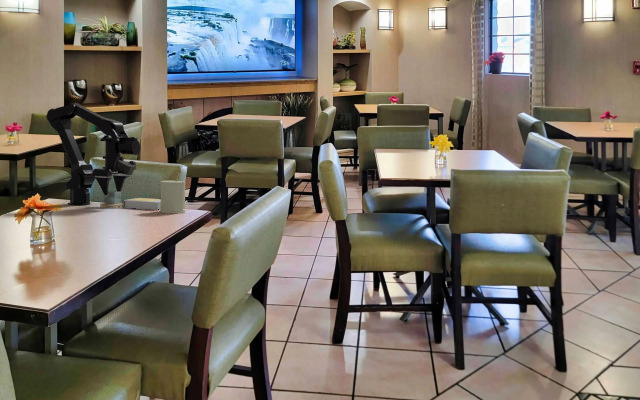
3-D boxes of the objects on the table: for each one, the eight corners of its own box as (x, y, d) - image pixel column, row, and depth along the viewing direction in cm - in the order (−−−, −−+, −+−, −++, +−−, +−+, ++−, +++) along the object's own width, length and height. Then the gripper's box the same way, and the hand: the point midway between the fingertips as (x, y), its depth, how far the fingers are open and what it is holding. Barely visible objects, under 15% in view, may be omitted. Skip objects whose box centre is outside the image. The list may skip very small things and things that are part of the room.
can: (188, 211, 227) (189, 180, 225) (180, 214, 217) (181, 181, 216) (165, 210, 227) (165, 178, 226) (156, 212, 218) (156, 180, 217)
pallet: (100, 207, 227) (100, 191, 227) (108, 205, 233) (108, 190, 233) (116, 208, 226) (116, 192, 225) (124, 207, 232) (125, 191, 231)
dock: (123, 207, 228) (123, 199, 228) (138, 205, 239) (138, 197, 239) (157, 210, 225) (157, 202, 225) (170, 207, 236) (170, 199, 236)
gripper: (119, 155, 217) (118, 197, 218) (144, 154, 235) (143, 193, 237) (91, 153, 219) (91, 195, 221) (118, 153, 237) (118, 192, 239)
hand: (112, 194), depth 229 cm, fingers open, 9 cm apart
